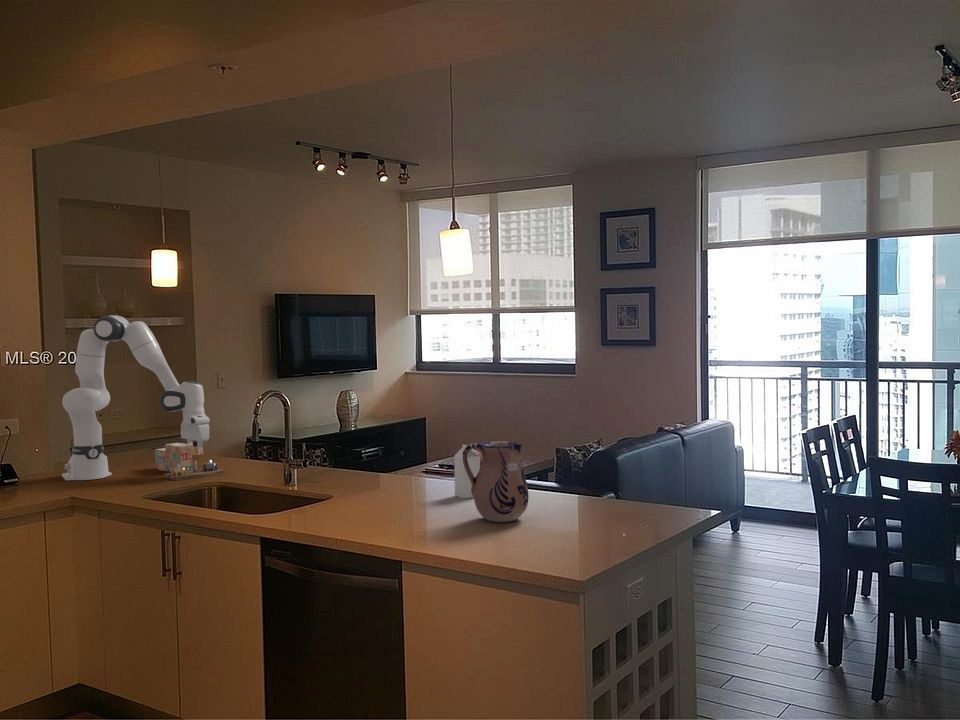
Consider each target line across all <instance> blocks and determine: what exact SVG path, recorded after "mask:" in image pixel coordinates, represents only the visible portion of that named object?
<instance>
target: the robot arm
mask: <svg viewBox="0 0 960 720" xmlns="http://www.w3.org/2000/svg"><path fill="white" fill-rule="evenodd" d="M118 341H124V342H125V343H126V344H127V345H128V347H129V349H130V351H131V353H132V355H133V357H134V358H135V360H136V361H137V362H138V363H139V364H140V366H142V367H143V368H147V369H149V370H150V371H152V372H153V373H154V374H155V375H156V377H157V378H158V381H159V382H160V383H161V385H162V387H163V389H164V390H165V391H163V392H162V393H161V394H160V396H159V398H158V403H159V407H160V408H161V409H162V410H164V411H165V412H169V413H172V412H178V411H182V422H181V424H180V436H181V437H180V438H181V439H185V440H186V444H188V447H196V446H194V443H193V442H195V441H196V444H197V447H196V450H197V451H202V447H203V445H204V442H208V441H209V439H210V425H209V424H210V422H211V420H210V417H208V416H207V415H206V414H205V413H206V412H205V408H204V404H205V394H204V387H203V384H201V383H200V382H199V381H194V380H185V381H183V382H182V383H180V382H179V381H178V380H177V377H176V376H175V374H174V373H173V370H172V369H171V367H170V366H169V364H168V363H167V360H166V358H165V356H164V354H163V352H162V349H161V347H160V346H161V345H159V343H158V341H157V339H156V337H155V335H154V333H153V332H152V330H151V329H150V328H149V327H148V325H147V324H146V323H145V322H144V321H140V320H138V321H137V320H136V321H132V322H131V321H130V320H129V318H127V317H125V316H122V315H117V314H116V315H115V314H112V315H104V316H101V317H99V318H97V320H96V321H95V322H94V324H93V327H92V328H87V329H85V330H83V331H82V332H81V333H80V335H79V340H78V343H77V347H76V359H75V372H74V373H75V374H76V375H77V377H78V381H79V386H80V387H77V388H73V389H71V390H68V391H67V392H66V393H65V394H64V395H63V396H62V402H61V403H62V407H63V409H64V410H65V411H66V412H67V413H68V416H69V418H70V422H71V425H72V432H73V434H72V435H73V445H72V451H71V454H72V455H71V457H70V458H69V460H68V461H67V462H66V463H64V466H63V468H64V470H67V472H64V473H61V477H62V478H63V479H64V480H65V481H87V480H98V479H105V478H107V477H108V476H112V475H113V474H112V472H111V471H109V464H108V463H109V462H108V457H107V455H105V454H104V449H105V447H104V444H103V429H102V428H103V427H102V425H101V423H100V422H99V421H98V418H97V415H96V412H98V411H101V410H102V409H104V408H106V407H107V406H108V405H109V404H110V401H111V395H110V393H109V390H108V389H107V387H106V380H105V375H104V374H105V373H104V371H105V361H106V359H105V358H106V348H107V345H108V344H109V343H113V342H118Z"/></svg>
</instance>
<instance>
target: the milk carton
mask: <svg viewBox="0 0 960 720" xmlns="http://www.w3.org/2000/svg"><path fill="white" fill-rule="evenodd" d="M466 446H468V445H467V444H462V447H461V448H460V449H459V450H458V451H457V453H456V454H455V455H454V457H453V459H454V460H453V461H454V462H453V463H454V464H453V465H454V496H455V497H457V496H458V498H460V499H463V500H464V499H472V498H473V499H474V497H473V495H472V493H471V487H472V485H471V481H470V479H469V477H468V474H467V472H466V469H465V467H464V464H463V451H464V449H465V448H466ZM467 460H468V464H469V467H470V469H471V471H472V473H473V475H474V477H476V476H477V474H478V472H479V469H480V467H481V462H480V461H481V457H480V455H478V453H476V449H472V450H470V451H469V452H468V454H467Z"/></svg>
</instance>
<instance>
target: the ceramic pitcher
mask: <svg viewBox="0 0 960 720" xmlns="http://www.w3.org/2000/svg"><path fill="white" fill-rule="evenodd" d="M472 449H474V450H477V451H479V452H480V454H481V456H482V460H481V461H482V462H481V463H480V469H479V472H478V474H477V476H476V477H474V475H473V473H472V471H471V469H470V467H469V464H468V460H467V454H468V452H469V451H470V450H472ZM521 449H522V443H519V442H511V441H509V440H498V441H496V440H495V441H485V442H481V443H478V442H477V443H469V444H468V445H467V446H466V448H465V449H464V451H463V464H464V467H465V469H466V472H467V474H468V477H469V479H470V481H471V485H472V487H471V493H472V495H473V497H474V498H473V501H474V505H475V507H476V510H477V512H478V513H479V515H481V517H482V518H484V519H485V520H486V521H489V522H493V523H509V522H514V521H516V520H518V519H519V518H520V517H521V516H522V515H523V514H524V513H525V512H526V510H527V508H528V505H529V496H530V495H529V489H528V484H527V478H526V475H525V470H524V468H523V464H522V459H521V458H522V456H521Z"/></svg>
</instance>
